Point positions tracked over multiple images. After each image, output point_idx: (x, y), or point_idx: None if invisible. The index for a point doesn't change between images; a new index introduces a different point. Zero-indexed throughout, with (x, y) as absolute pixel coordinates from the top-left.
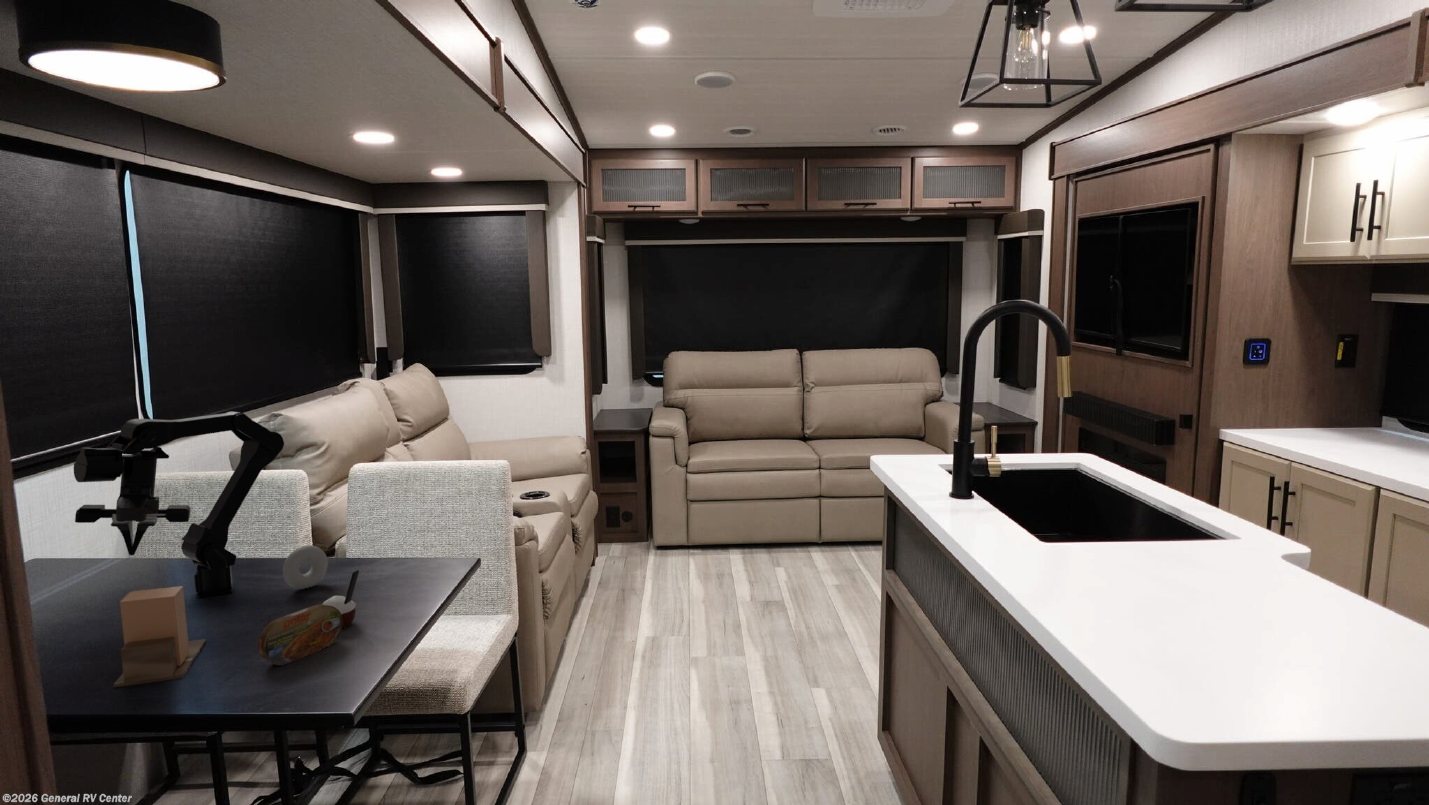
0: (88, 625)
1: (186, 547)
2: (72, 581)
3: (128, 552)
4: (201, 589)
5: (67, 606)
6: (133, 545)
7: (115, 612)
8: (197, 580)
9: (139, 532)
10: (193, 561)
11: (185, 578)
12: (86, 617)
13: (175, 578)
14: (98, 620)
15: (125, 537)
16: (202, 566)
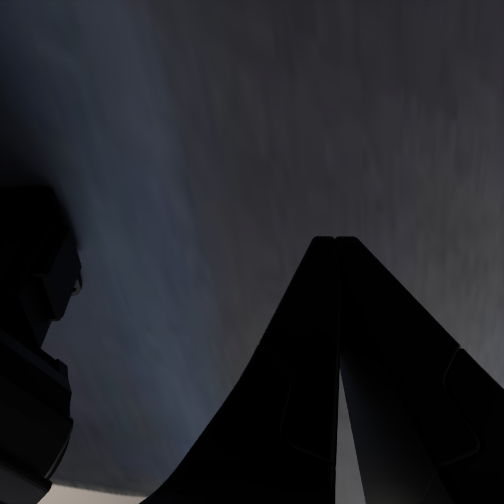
0: (449, 33)
1: (12, 406)
2: None
3: (368, 251)
4: (39, 227)
5: (489, 281)
6: (334, 296)
7: (352, 155)
8: (40, 256)
9: (276, 456)
10: (58, 369)
11: (169, 388)
12: (448, 145)
13: (200, 396)
14: (410, 84)
15: (470, 384)
16: (2, 320)
